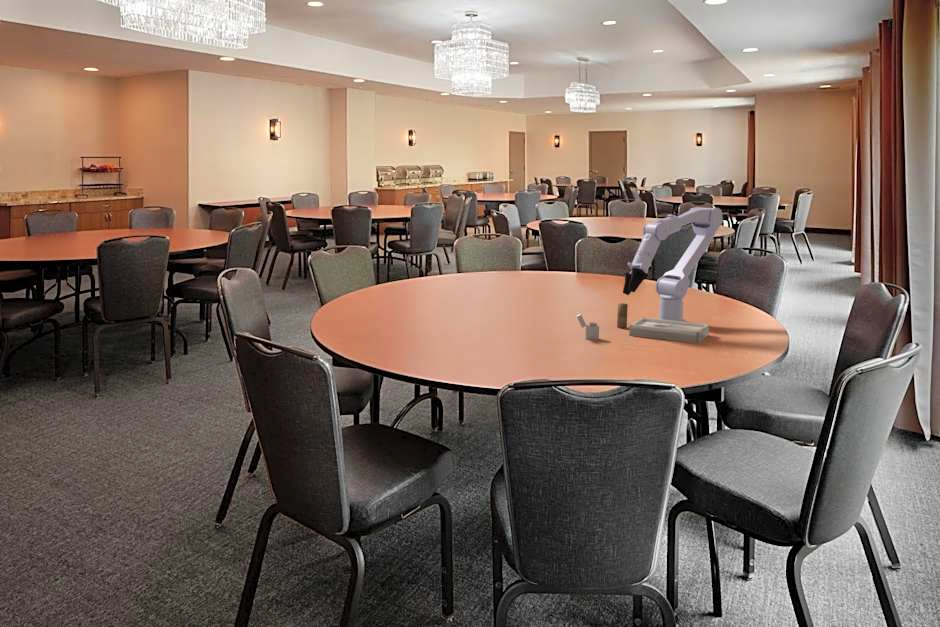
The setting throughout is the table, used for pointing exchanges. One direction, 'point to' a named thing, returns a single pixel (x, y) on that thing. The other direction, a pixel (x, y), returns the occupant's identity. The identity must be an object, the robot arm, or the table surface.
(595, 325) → the lighter
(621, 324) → the peg
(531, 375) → the table surface
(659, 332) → the box
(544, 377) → the table surface
